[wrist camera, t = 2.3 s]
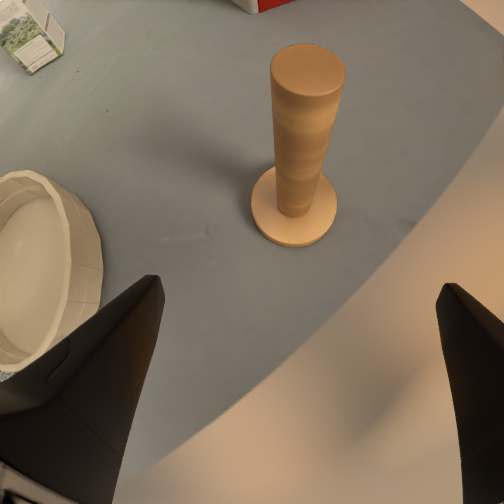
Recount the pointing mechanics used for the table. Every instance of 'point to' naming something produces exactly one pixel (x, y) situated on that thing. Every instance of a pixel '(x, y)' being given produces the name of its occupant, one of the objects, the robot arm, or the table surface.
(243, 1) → the red white rounded box
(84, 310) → the bowl
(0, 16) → the syrup box
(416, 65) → the table surface
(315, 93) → the tan wooden tall post
